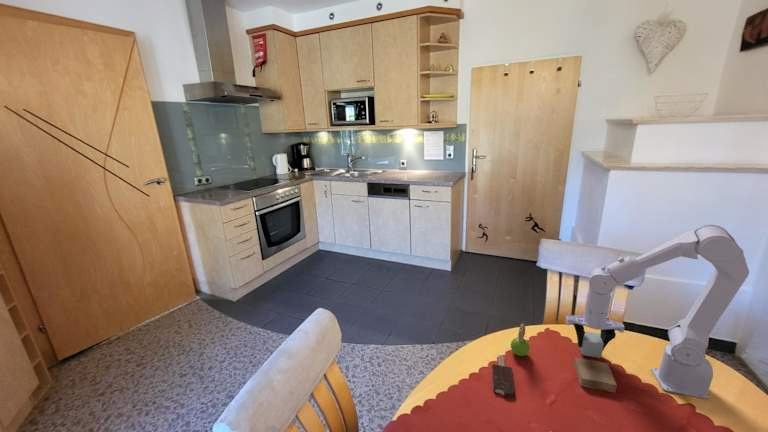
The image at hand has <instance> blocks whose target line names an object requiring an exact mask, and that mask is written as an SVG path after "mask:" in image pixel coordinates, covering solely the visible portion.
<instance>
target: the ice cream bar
mask: <svg viewBox="0 0 768 432" xmlns="http://www.w3.org/2000/svg"><path fill="white" fill-rule="evenodd" d="M497 363H498V364H492V366H491V368H492V369H493V371H492V384H493V386H494V387H493V386H492V387H493V394H495V392H496V394H497V393H498V394H500V395H502V396H503V398H507V399H512V398H515V395H516V390H515V385H514V384H515V383H514V376H513V375H514V374H513V370H512V369H513V368H512V367H511V366H505V357H504V356H503V355H498V356H497Z"/></svg>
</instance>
